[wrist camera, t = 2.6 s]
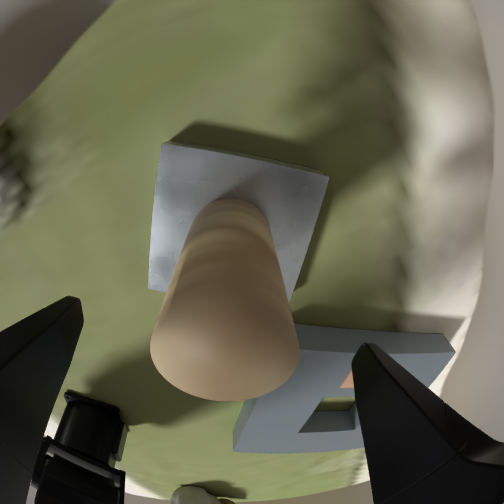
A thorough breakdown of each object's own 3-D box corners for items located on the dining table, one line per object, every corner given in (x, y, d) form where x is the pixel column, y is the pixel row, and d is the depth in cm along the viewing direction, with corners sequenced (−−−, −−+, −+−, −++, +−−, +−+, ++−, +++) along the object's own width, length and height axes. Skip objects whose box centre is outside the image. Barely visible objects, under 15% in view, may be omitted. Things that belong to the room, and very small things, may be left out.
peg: (185, 264, 15) (151, 389, 8) (196, 191, 13) (150, 286, 6) (260, 277, 16) (276, 405, 8) (279, 207, 14) (321, 313, 7)
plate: (154, 275, 17) (148, 288, 16) (169, 140, 14) (161, 143, 12) (282, 296, 18) (285, 311, 17) (321, 171, 15) (329, 177, 13)
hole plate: (232, 431, 26) (233, 452, 24) (274, 320, 19) (278, 348, 17) (365, 429, 28) (371, 446, 26) (443, 333, 21) (456, 352, 19)
